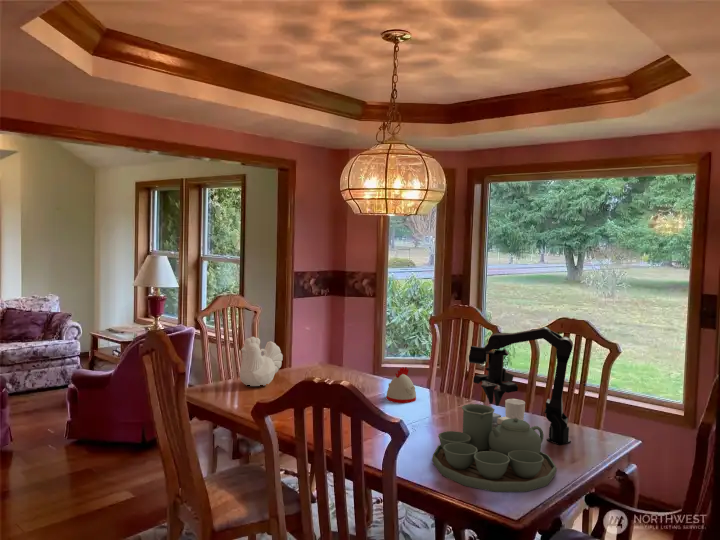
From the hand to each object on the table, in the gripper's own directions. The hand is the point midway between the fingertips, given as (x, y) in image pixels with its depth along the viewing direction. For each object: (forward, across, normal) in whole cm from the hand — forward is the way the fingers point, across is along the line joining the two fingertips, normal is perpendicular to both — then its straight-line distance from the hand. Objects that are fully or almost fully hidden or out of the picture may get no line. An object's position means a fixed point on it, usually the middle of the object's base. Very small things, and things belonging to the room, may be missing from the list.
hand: (494, 404), depth 235 cm
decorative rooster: (+11, +110, +49) cm, 121 cm away
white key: (+7, -6, 0) cm, 9 cm away
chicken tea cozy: (+11, +56, +3) cm, 57 cm away
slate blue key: (+7, 0, 0) cm, 7 cm away
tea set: (+12, -26, +27) cm, 39 cm away
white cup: (+11, +2, -14) cm, 18 cm away
